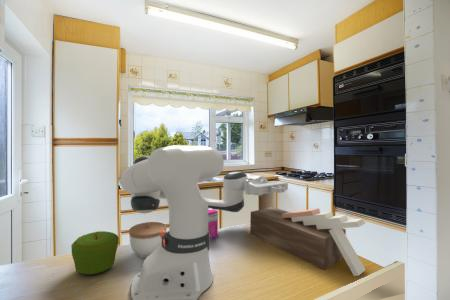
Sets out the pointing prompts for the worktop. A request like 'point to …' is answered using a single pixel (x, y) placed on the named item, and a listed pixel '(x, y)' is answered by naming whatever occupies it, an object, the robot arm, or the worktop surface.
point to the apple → (95, 252)
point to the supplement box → (213, 223)
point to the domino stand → (295, 237)
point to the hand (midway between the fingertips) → (282, 190)
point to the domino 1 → (301, 213)
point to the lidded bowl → (146, 238)
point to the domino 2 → (313, 217)
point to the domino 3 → (327, 220)
